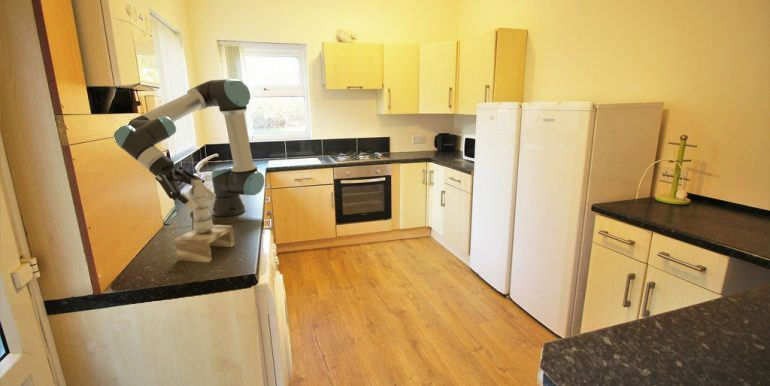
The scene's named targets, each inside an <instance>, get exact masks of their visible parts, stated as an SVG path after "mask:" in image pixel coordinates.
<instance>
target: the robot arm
mask: <svg viewBox="0 0 770 386" xmlns="http://www.w3.org/2000/svg"><path fill="white" fill-rule="evenodd" d="M250 101H251V93H250V90H249V87H248V86H247V85H246V83H244V82H243V81H242V80H240V79H235V78H234V79H233V78H226V79H213V80H208V81H205V82H203V83H200V84H199V85H196V86H194V87H193V88H190V89H188V90H187V92H186V94H183V95H181V96H179V97H177V98H175V99H173V100H171V101H168V102H166V103H164V104H162V105H160V106H158V107H155V108H154V109H151V110H150V111H147V112H145V113H144V114H141V115H140V116H139V115H138V116H136V117H134V118H132V119H130V120H131V121H130V122H129V124H128V125H125V126H122V127H120V128H119V129H118V130H117V129H116V130H115V131H114V133H113V134H114V137H115V140H116V142H115V143H117V144H116V145H117V146H118V147H120V149H122V150H123V151H125V152H126V153H127V154H128V155H130V157H132V158H133V159H134V160H136V161H137V162H138V163H140V165H141V166H142V167H144V168H145V169H146V170H149V172H150V173H152V174H153V176H155V177H154V178H155V180H156V181H157V182H158V183H159V184H160V186H161V187H162V189H163V191H164V192H165V193H166V195H167V196H168V198H169V199H172V200H173V201H177V200H178V201H180V202H181V203H182V204H183V205H185V206H186V207H187V208H188V209H190V210H191V212H192V211H194V210H195V209H196V208H197V207H198V206H199V205H198V204H197V203H195V202H194V201H193V200H192V199H191V198H189V195H187V194H186V193H185V192H182V191H181V189H180V187H179V186H180V185H179V184H178V183H185V184H187V185H189V186H192V185H191V179H196V178H200V177H199V176H197V175H195V174H194V173H192V172H190V171H188V170H186V169H185V168H184V167H182V166H179V167H178V168H176V167H175V166H174V164H175V162H174V161H173V160H172V159H171V158H169V157H168V156H167V155H165V153H164V152H163V151H161V150H160V149H159V148H158V147H157V146H155V145H157V144H159V143H161V142H163V141H165V140H167V139H169V138H170V137H172V136H173V135H175V133H176V132H177V128H176V125H175V122H176V121H179V120H180V119H182V118H184V117H186V116H188V115H190V114H191V113H193V112H195V111H197V110H198V111H202V110H205V109H207V108H210V107H218V110H219V112H220V113H221V114H223V116H224V121H225V126H226V131H227V132H226V133H227V136H228V142H229V147H230V152H231V157H232V162H233V163H232V164H233V166H227V167H221V168H216V169H213V170H212V171H211V181H212V188H213V191H212V190H211V189H210V188H208V187H207V186H206V185H205V180H204V179H202V178H201V179H202V182H203V184H202V186H204V187H205V188H206V190H207V191H208V200H210V201H212V202H213V200H214V202H213V208H212V214H213V215H214V216H215V217H231V216H232V217H233V216H237V215H240V214H242V213H245V212H246V207H245V204H244V202H243V200H242V198H241V195H242V196H243V195H244V196H257V195H258V194H260V192H261V191H263V190H262V189H263V188H264V187H265V177H264V175H263V173H262V172H260V171H258V166H257V165H256V164H255V163H254V161H253V157H252V151H251V145H250V139H249V138H250V137H249V134H248V129H247V122H246V116H245V112H246V111H247V110H248V107H247V105H249V103H250Z"/></svg>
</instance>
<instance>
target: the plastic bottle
mask: <svg viewBox="0 0 770 386" xmlns="http://www.w3.org/2000/svg"><path fill="white" fill-rule="evenodd" d="M202 184H204V183H203V182H202V178H201V177H199V178H196V179H191V185H190V186H191V187H190V189H189V192H188V197H189V198H191V199H192V200H193V201H194V202H195V203H197V204H198V205H199V206H198V207H197V208H196V209H195V210H194V211H193V217H194V223H193V227H194V230H195V232H196V233H207V232H210V231H211V230H212V229H213V225H214V223H213V220H212V218H211V213H210V208H209V198H208V191H207V190H206V188H205V187H204V186H202Z"/></svg>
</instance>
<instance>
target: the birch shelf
mask: <svg viewBox="0 0 770 386" xmlns="http://www.w3.org/2000/svg"><path fill="white" fill-rule="evenodd" d="M174 243H175V248H176V249H175V250H176V255H177V259H178V261H182V262H183V261H185V262H197V263H199V262H200V263H210V262H211V261H212V260H213V258H212V250H211V247H229V248H232V247H234V246H235V237H234V229H233V225H227V224H226V225H225V224H224V225H223V224H213V229H212V230H211V231H210V232H207V233H196V232H195V230H192V229H191V230H190V231H188V232H186V233H184V234H183V235H182V234H181V236H179V237H175V238H174Z"/></svg>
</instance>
